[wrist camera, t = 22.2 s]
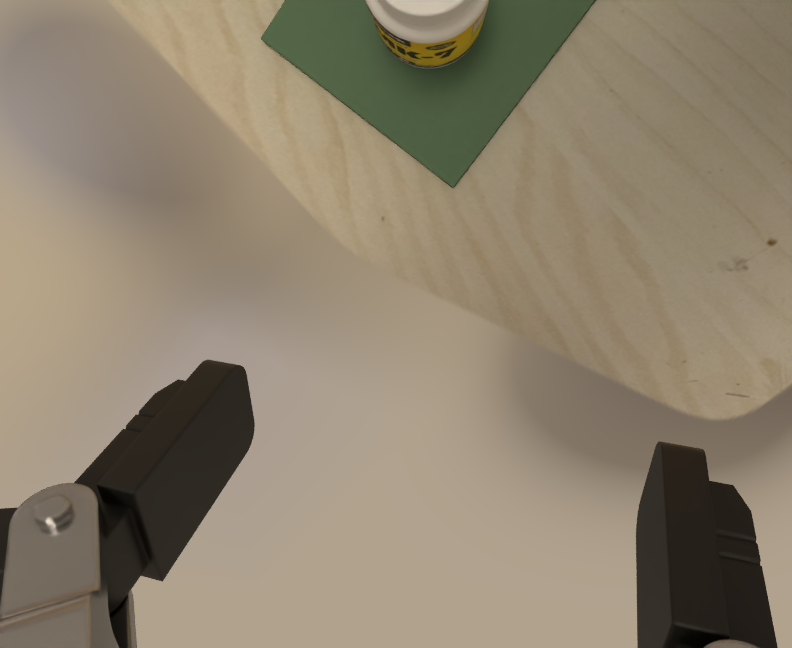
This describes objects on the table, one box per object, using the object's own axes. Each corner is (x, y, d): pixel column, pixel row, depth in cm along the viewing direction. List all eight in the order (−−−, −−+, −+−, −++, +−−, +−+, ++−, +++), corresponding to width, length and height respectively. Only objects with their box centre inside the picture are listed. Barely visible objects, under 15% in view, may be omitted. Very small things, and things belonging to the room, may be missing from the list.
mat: (609, -19, 29) (611, -22, 29) (453, 188, 31) (453, 187, 31) (407, -183, 28) (406, -188, 28) (262, 40, 31) (260, 38, 30)
